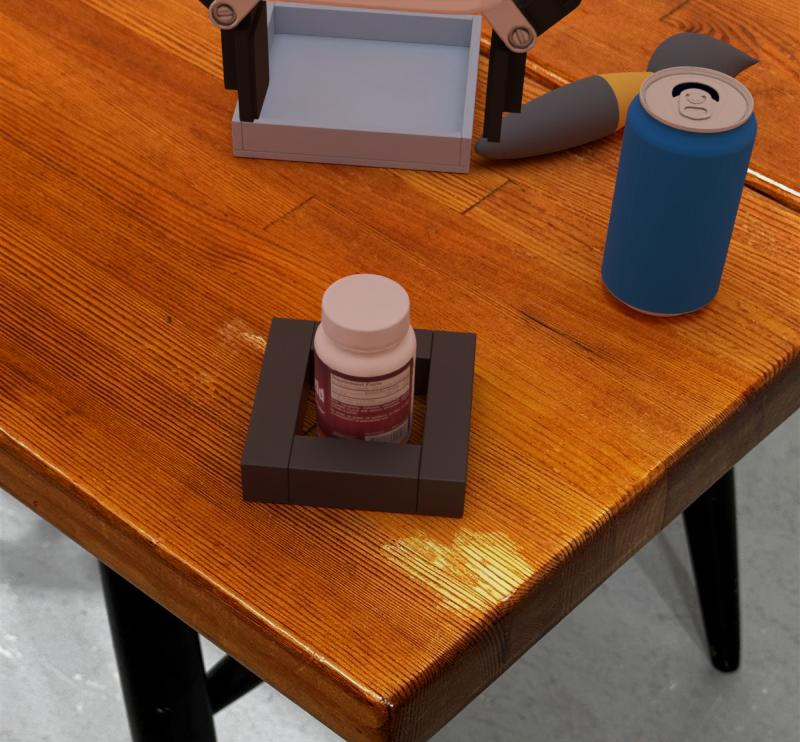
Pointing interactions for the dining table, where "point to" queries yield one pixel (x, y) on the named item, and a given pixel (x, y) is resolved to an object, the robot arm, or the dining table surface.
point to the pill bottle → (365, 361)
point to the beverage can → (678, 190)
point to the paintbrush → (602, 100)
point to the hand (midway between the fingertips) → (373, 113)
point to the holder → (358, 459)
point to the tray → (366, 88)
